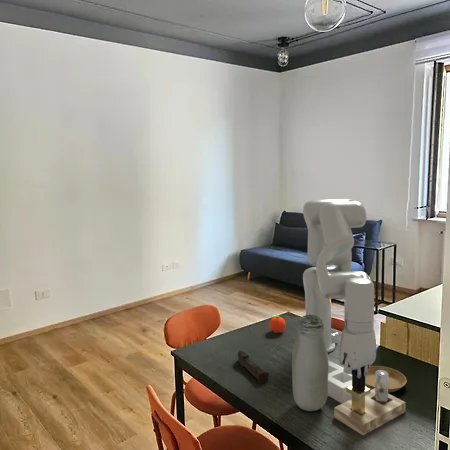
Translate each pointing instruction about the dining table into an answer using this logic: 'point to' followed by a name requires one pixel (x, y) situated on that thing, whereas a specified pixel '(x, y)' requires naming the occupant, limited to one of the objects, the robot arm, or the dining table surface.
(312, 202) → the robot arm
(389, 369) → the plant saucer
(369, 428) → the socket block
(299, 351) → the glass bottle
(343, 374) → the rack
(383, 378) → the clear glass vial
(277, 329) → the clementine
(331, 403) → the dining table surface
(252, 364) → the hand tool
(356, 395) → the gold square peg
